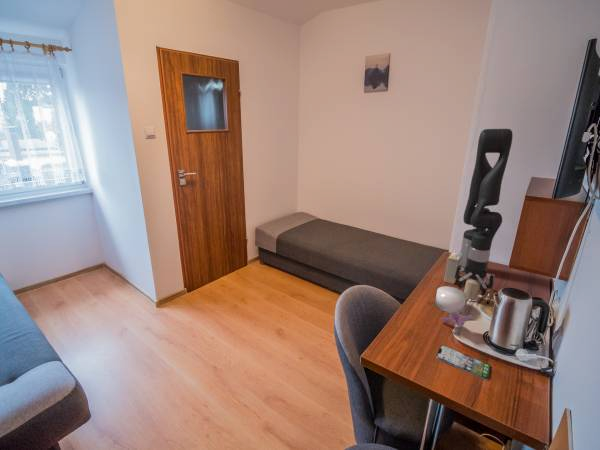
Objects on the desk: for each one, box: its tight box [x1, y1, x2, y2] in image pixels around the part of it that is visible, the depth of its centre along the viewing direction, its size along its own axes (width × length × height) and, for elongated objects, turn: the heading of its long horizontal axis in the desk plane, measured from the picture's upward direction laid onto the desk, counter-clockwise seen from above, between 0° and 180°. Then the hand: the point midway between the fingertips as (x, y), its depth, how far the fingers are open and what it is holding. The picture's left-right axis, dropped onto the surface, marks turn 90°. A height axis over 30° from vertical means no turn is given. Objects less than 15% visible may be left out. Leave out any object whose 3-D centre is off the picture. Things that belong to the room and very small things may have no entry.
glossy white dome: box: [434, 285, 467, 314], centre depth 125 cm, size 11×11×6 cm
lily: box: [439, 311, 479, 337], centre depth 110 cm, size 12×12×10 cm
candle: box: [463, 277, 482, 301], centre depth 130 cm, size 6×6×10 cm
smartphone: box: [435, 344, 492, 381], centre depth 97 cm, size 7×1×15 cm
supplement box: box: [443, 251, 462, 286], centre depth 144 cm, size 8×5×13 cm, turn 143°
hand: (471, 291), depth 131 cm, fingers open, 8 cm apart
